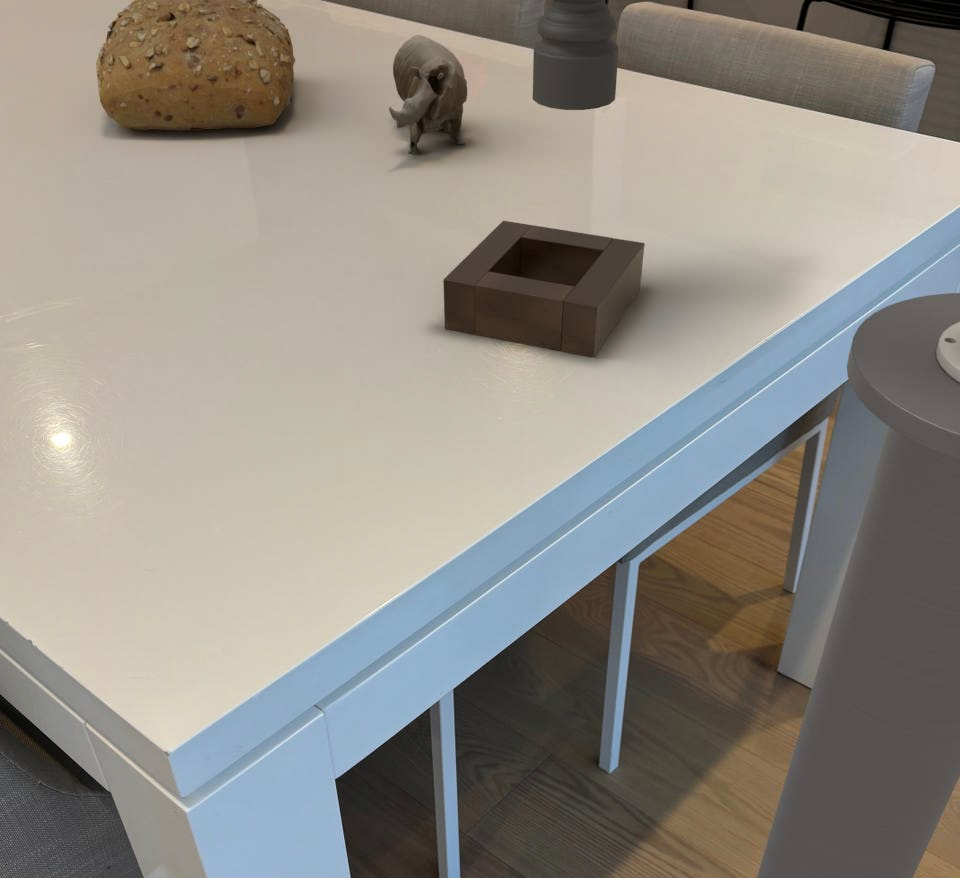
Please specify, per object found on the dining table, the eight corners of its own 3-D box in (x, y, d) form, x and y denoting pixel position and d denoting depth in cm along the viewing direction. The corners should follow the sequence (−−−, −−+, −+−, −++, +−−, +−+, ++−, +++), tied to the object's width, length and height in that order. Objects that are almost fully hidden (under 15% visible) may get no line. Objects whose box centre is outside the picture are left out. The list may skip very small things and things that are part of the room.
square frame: (640, 290, 89) (645, 242, 86) (593, 357, 80) (597, 306, 78) (502, 266, 92) (503, 220, 89) (444, 328, 84) (443, 279, 81)
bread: (294, 138, 116) (280, 13, 108) (94, 143, 115) (64, 17, 107) (306, 72, 134) (294, -40, 126) (133, 76, 133) (110, -36, 125)
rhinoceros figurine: (468, 84, 121) (457, -21, 107) (478, 193, 119) (467, 100, 104) (400, 92, 122) (379, -12, 107) (407, 201, 119) (387, 109, 104)
